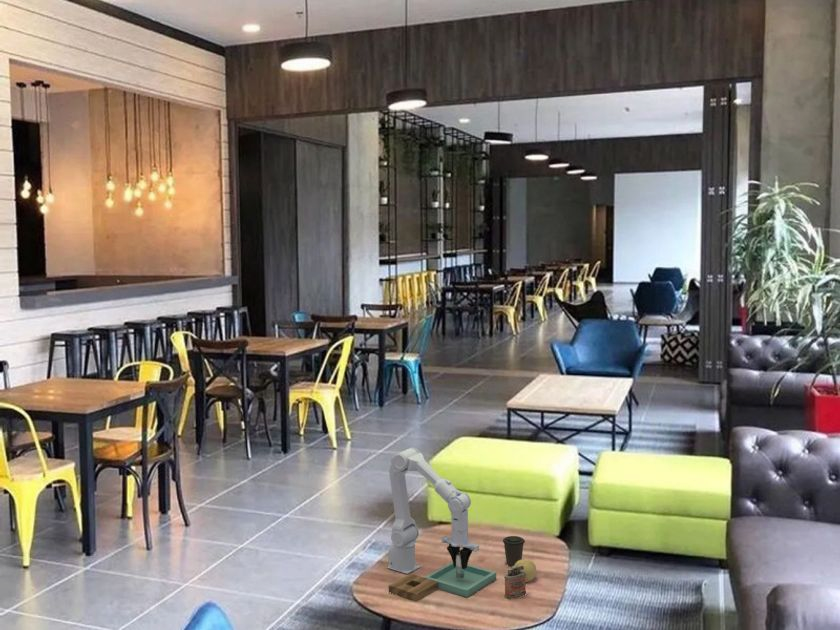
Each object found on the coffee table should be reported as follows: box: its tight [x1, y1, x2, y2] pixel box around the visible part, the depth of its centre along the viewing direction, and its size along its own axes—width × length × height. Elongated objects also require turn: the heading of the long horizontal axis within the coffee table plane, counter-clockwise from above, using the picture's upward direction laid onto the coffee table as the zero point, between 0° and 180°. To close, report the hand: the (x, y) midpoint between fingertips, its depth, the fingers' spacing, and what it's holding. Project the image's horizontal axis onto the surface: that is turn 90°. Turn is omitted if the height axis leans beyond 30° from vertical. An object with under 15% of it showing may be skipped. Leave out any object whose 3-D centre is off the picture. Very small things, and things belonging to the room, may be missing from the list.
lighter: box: [503, 565, 527, 600], centre depth 274 cm, size 8×3×10 cm, turn 117°
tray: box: [423, 561, 497, 599], centre depth 285 cm, size 18×18×3 cm
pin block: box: [388, 573, 439, 602], centre depth 279 cm, size 12×12×2 cm
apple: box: [514, 558, 537, 583], centre depth 286 cm, size 8×8×8 cm
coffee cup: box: [502, 535, 526, 568], centre depth 299 cm, size 8×8×10 cm
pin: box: [456, 552, 464, 578], centre depth 285 cm, size 3×3×8 cm
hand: (460, 566), depth 285 cm, fingers closed on pin, 3 cm apart
